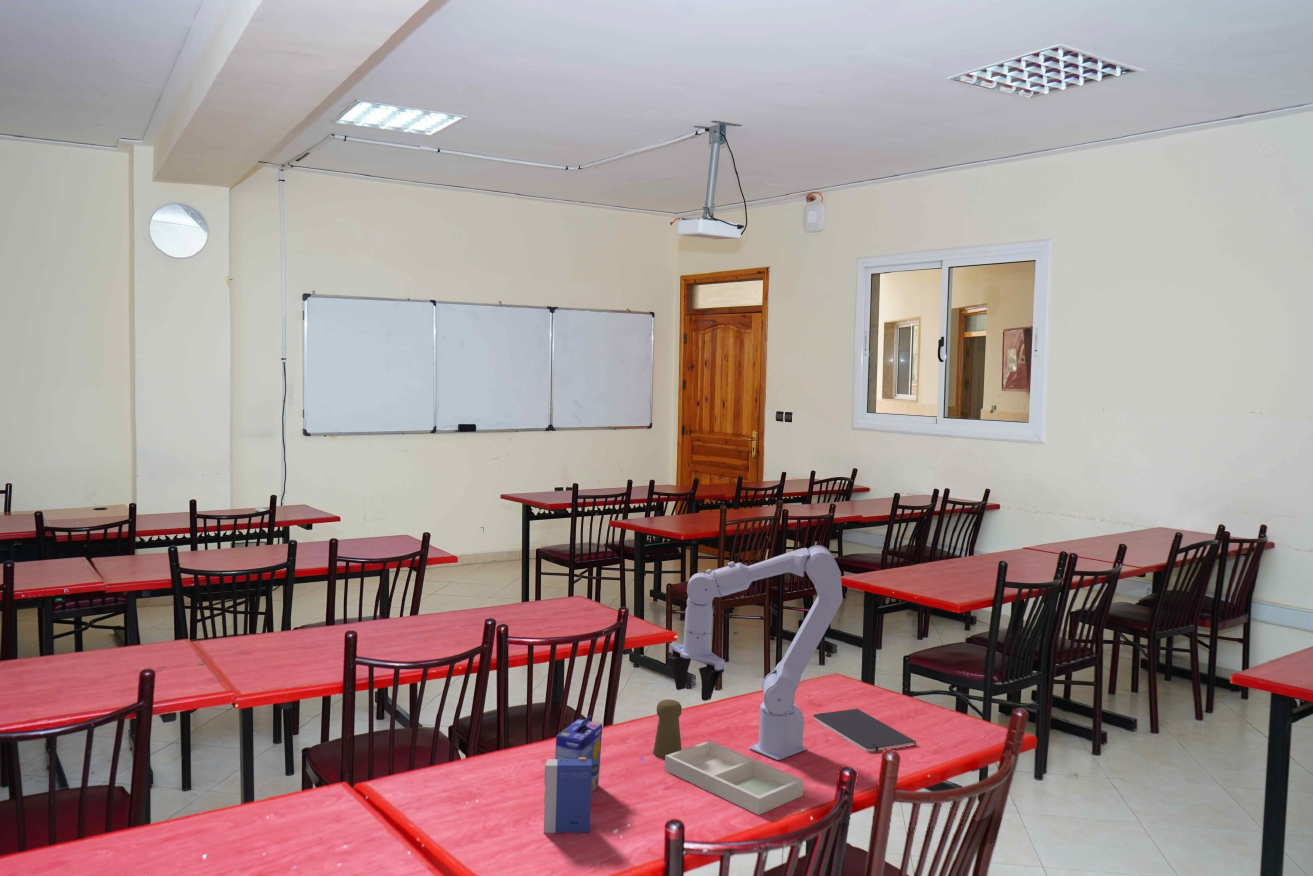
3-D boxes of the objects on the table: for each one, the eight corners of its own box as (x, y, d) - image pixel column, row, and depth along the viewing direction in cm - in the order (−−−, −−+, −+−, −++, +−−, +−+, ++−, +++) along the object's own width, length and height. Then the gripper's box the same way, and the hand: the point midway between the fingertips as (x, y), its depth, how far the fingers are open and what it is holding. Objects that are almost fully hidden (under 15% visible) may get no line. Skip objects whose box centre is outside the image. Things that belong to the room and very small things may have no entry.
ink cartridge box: (579, 807, 168) (581, 727, 167) (551, 801, 170) (553, 722, 169) (601, 785, 177) (603, 710, 176) (574, 780, 179) (577, 705, 178)
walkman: (589, 825, 161) (591, 756, 160) (589, 832, 158) (591, 763, 158) (543, 825, 160) (545, 757, 160) (543, 833, 158) (545, 763, 157)
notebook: (915, 748, 202) (856, 715, 222) (916, 741, 202) (857, 708, 222) (867, 755, 197) (811, 721, 217) (867, 748, 197) (811, 714, 217)
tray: (708, 754, 193) (709, 740, 193) (802, 795, 176) (803, 780, 175) (664, 770, 185) (665, 755, 185) (758, 815, 167) (759, 798, 167)
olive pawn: (679, 761, 190) (681, 707, 189) (650, 757, 191) (652, 704, 190) (684, 749, 196) (686, 698, 195) (656, 746, 197) (657, 695, 196)
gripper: (660, 625, 199) (656, 687, 200) (709, 642, 189) (704, 708, 190) (683, 621, 204) (679, 682, 205) (733, 637, 194) (728, 701, 194)
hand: (693, 694), depth 198 cm, fingers open, 7 cm apart
